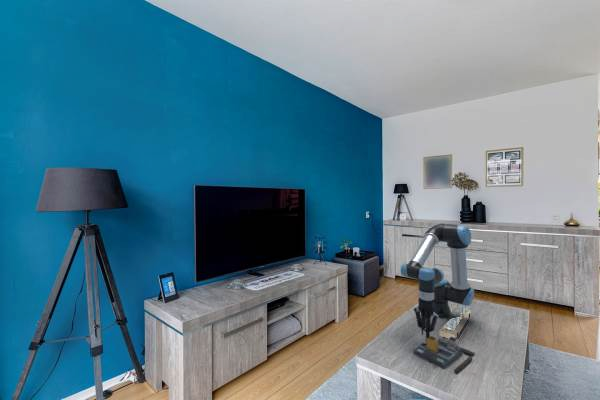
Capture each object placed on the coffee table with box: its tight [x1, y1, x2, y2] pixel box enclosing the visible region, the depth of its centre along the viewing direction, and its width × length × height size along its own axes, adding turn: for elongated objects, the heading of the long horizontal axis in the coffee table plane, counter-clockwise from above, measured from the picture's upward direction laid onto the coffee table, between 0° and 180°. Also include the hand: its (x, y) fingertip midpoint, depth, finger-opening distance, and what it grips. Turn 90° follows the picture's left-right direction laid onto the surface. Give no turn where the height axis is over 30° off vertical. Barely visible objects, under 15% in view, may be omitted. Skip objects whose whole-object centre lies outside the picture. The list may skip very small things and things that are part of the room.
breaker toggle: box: [427, 335, 438, 352], centre depth 144 cm, size 4×4×7 cm
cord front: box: [437, 337, 475, 358], centre depth 151 cm, size 3×21×2 cm, turn 37°
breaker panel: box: [413, 336, 463, 370], centre depth 144 cm, size 19×16×9 cm
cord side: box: [453, 356, 473, 374], centre depth 134 cm, size 17×2×2 cm, turn 127°
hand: (425, 342), depth 147 cm, fingers closed
